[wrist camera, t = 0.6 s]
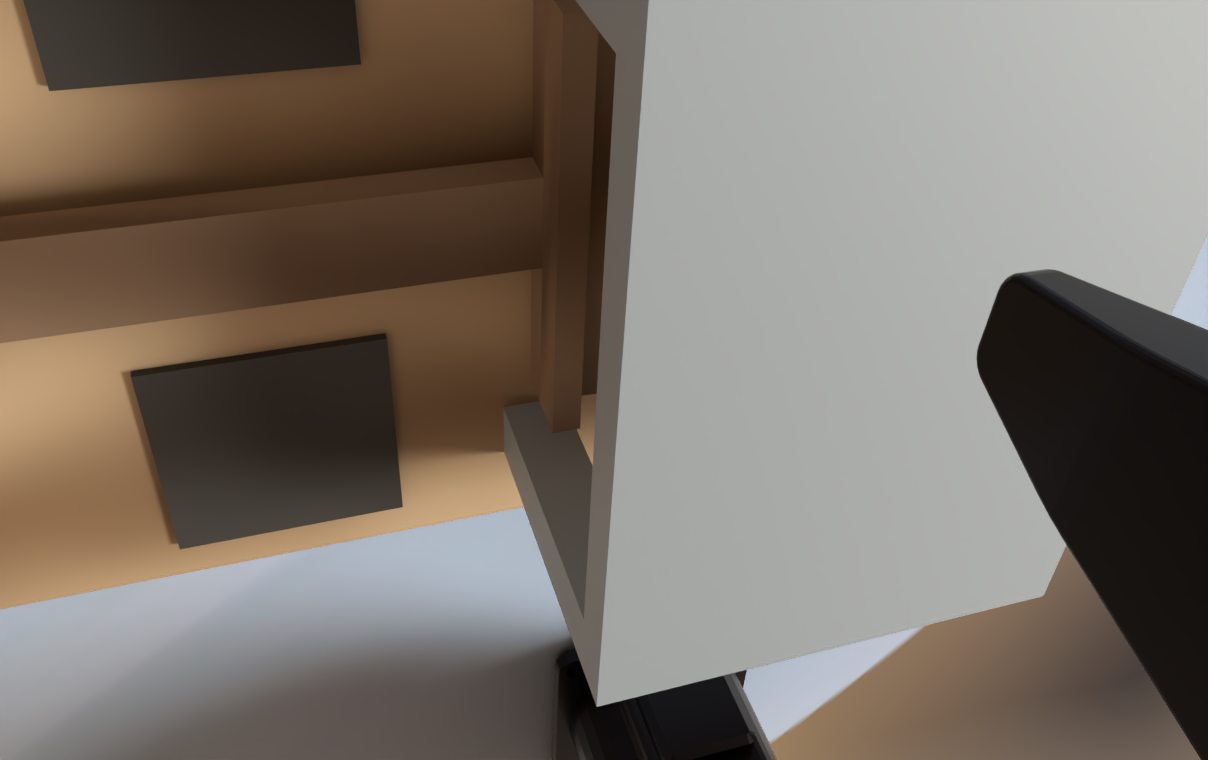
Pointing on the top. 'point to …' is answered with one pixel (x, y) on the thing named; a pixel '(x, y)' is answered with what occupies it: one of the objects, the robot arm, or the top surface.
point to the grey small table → (842, 310)
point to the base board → (265, 334)
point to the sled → (359, 233)
